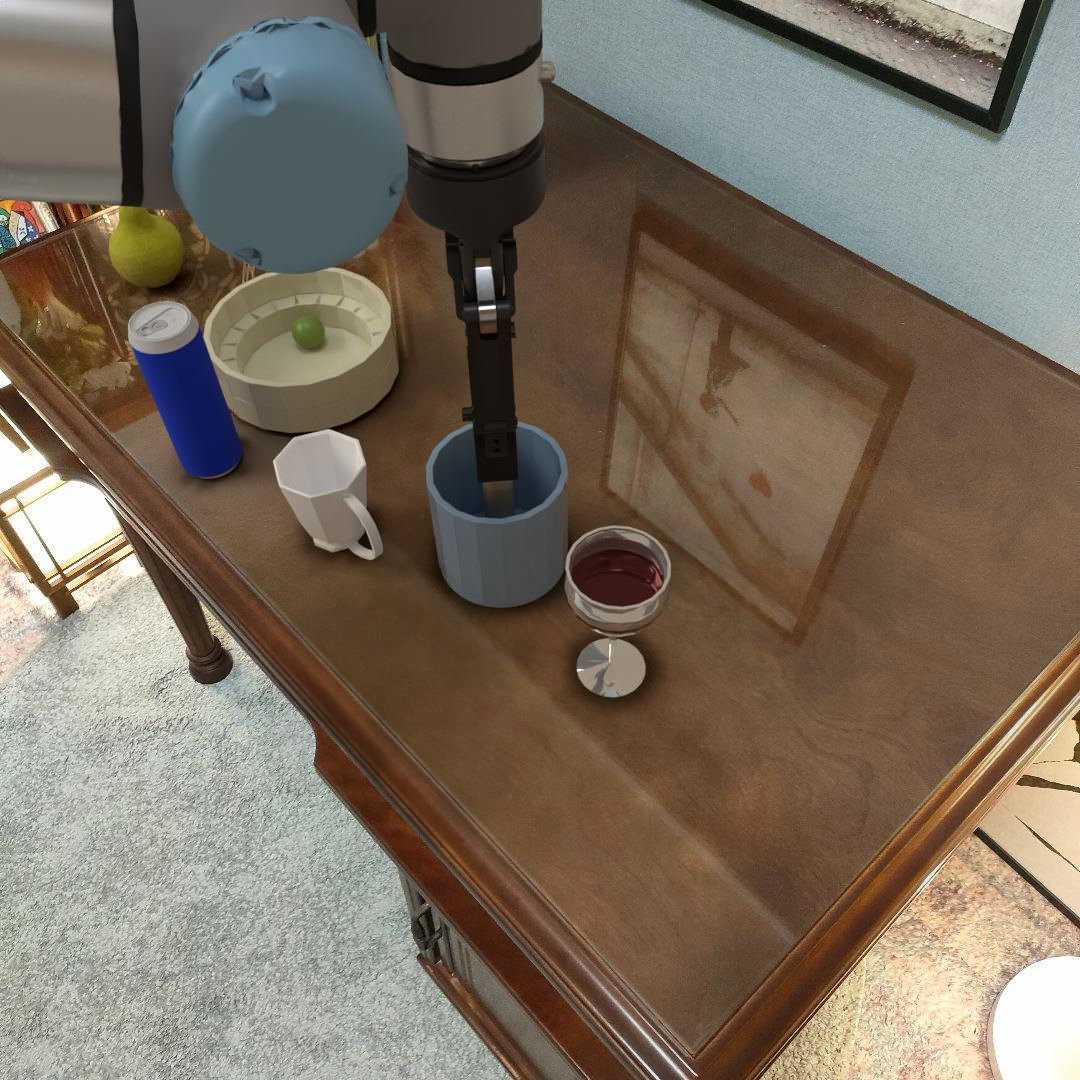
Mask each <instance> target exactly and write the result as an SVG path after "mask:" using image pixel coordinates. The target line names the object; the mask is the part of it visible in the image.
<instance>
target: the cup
mask: <svg viewBox="0 0 1080 1080" xmlns="http://www.w3.org/2000/svg"><path fill="white" fill-rule="evenodd" d="M272 463H273V467H274V471H275V476H276V479H277V483H278V488H279V489H280V490H281V492H282V494H283V496H284V497H285V499H286V501H287V502H288V504H289V505H290V508H291V509H292V511H293V513H294V514H295V517H296V518H297V520H298V523H299V524H300V525H301V526H302V527H303V528H304V530H305V531H306V532H307V533H308V535H309V536H310V537H311V538H312V539H313V544H314V546H316V547H318V548H320V549H323V550H326V551H328V552H330V553H336V552H340V551H343V550H346V549H349V550H350V551H351V552H352V554H354V555H356V556H358V557H360V558H362V559H365V560H368V561H373V560H374V559H376V558H378V557H379V556H381V555H382V554H384V545H383V542H382V541H383V540H382V538H381V535H380V532H379V530H378V527H377V525H376V522H375V521H374V519H373V518H372V516H371V513H370V512H369V511H368V510H367V509H368V508H367V503H368V502H367V501H368V500H367V462H366V459H365V456H364V453H363V449H362V446H361V444H360V440H359V439H358V438H354V437H352V436H349V435H346V434H343V433H341V432H338V431H335V430H333V429H331V428H328V429H324V430H320V431H314V432H311V433H307V434H303V435H298V436H294V437H293V438H292V439H291V440H290V441H289V442H288V443H287V444H286V445H285V446H284V448H283V449H282V450H281V451H280V452H279V453H278V454H277V455H276V457H275V458H274V459H273V460H272ZM365 533H366V534H367V537H368V540H369V542H370V546H371V549H368V548H366V547H365V546H362V545H361V544H360V543H359V540H360V539H361V538H362V536H363V535H364V534H365Z"/></svg>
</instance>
